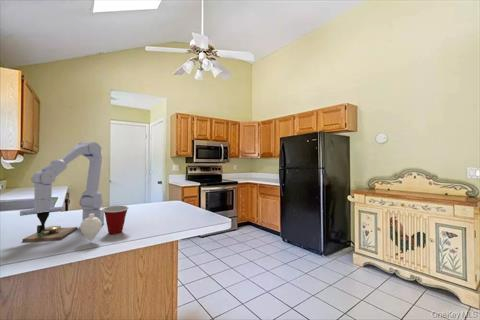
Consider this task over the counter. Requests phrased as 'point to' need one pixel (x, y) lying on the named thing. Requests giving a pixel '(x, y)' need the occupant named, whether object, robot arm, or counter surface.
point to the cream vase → (91, 227)
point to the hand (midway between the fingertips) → (42, 229)
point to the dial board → (50, 235)
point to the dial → (47, 228)
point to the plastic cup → (115, 218)
